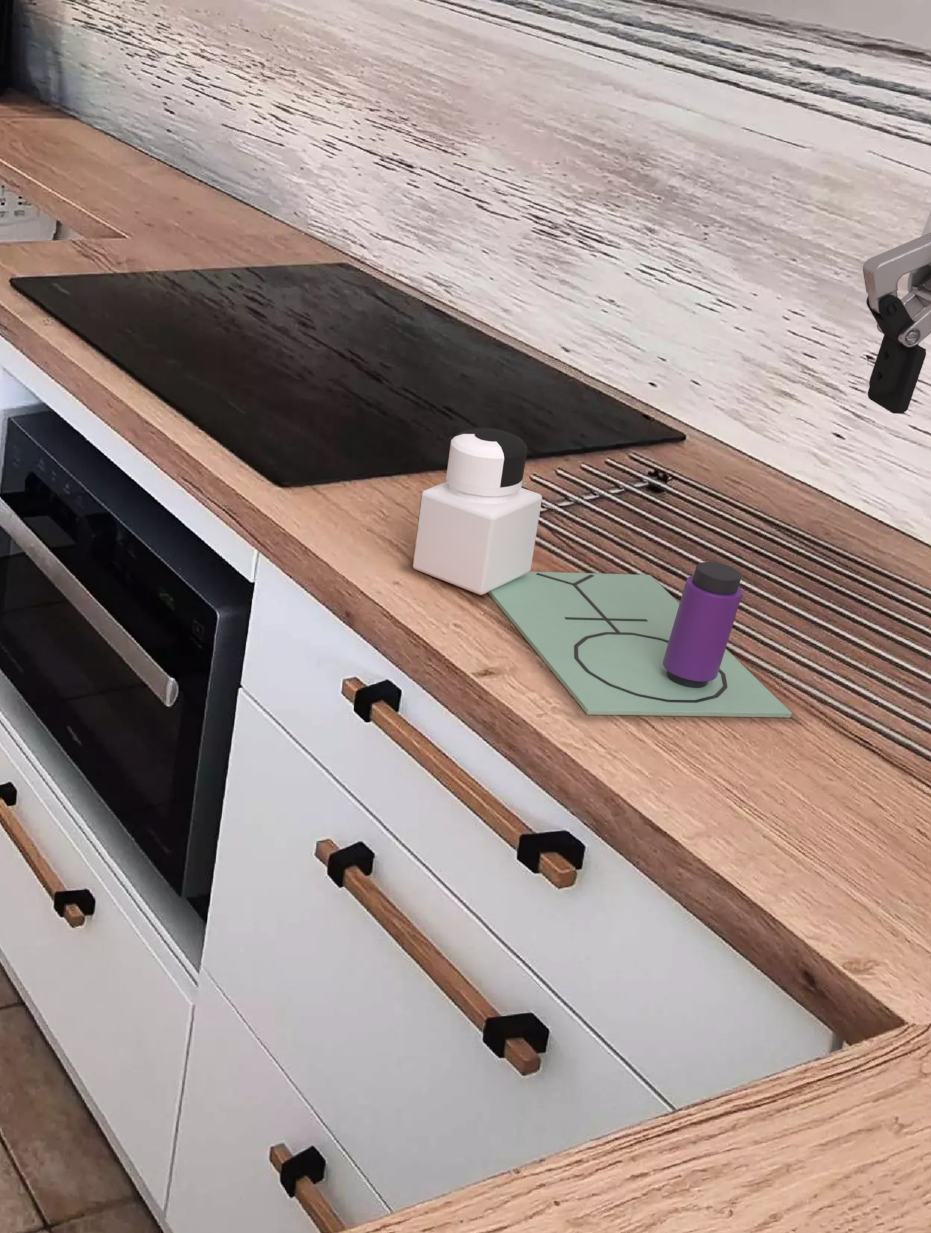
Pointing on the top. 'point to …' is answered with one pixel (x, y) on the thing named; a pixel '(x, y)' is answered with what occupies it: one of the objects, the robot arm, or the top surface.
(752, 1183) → the top surface
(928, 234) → the robot arm
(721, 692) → the sketch card
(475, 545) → the medicine bottle
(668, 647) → the cylinder
